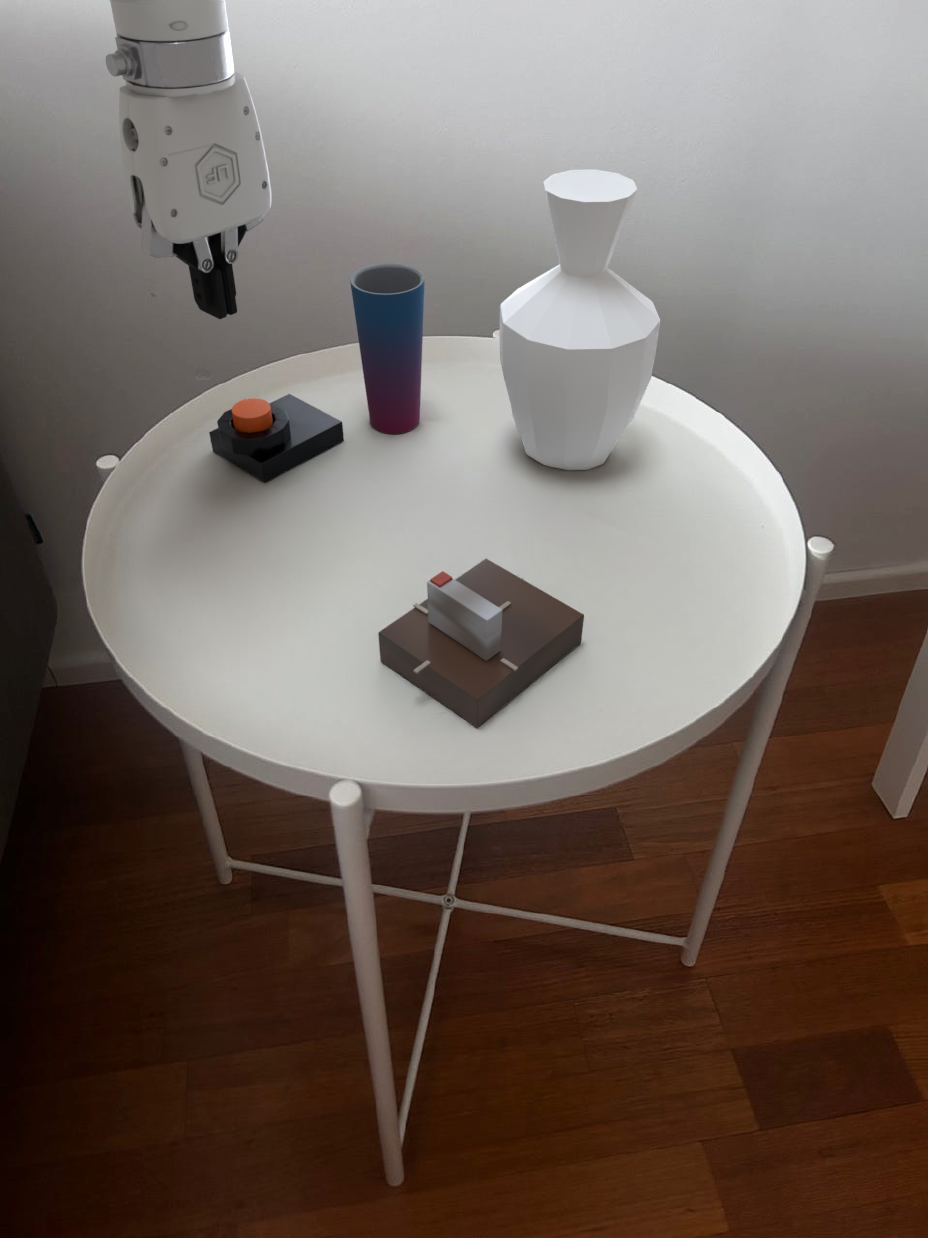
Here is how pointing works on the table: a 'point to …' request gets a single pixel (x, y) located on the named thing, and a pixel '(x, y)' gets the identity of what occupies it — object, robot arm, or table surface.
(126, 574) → the table surface
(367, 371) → the cup
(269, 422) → the button
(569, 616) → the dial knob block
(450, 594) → the grey rectangular block
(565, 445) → the vase
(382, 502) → the table surface
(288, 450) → the button box
